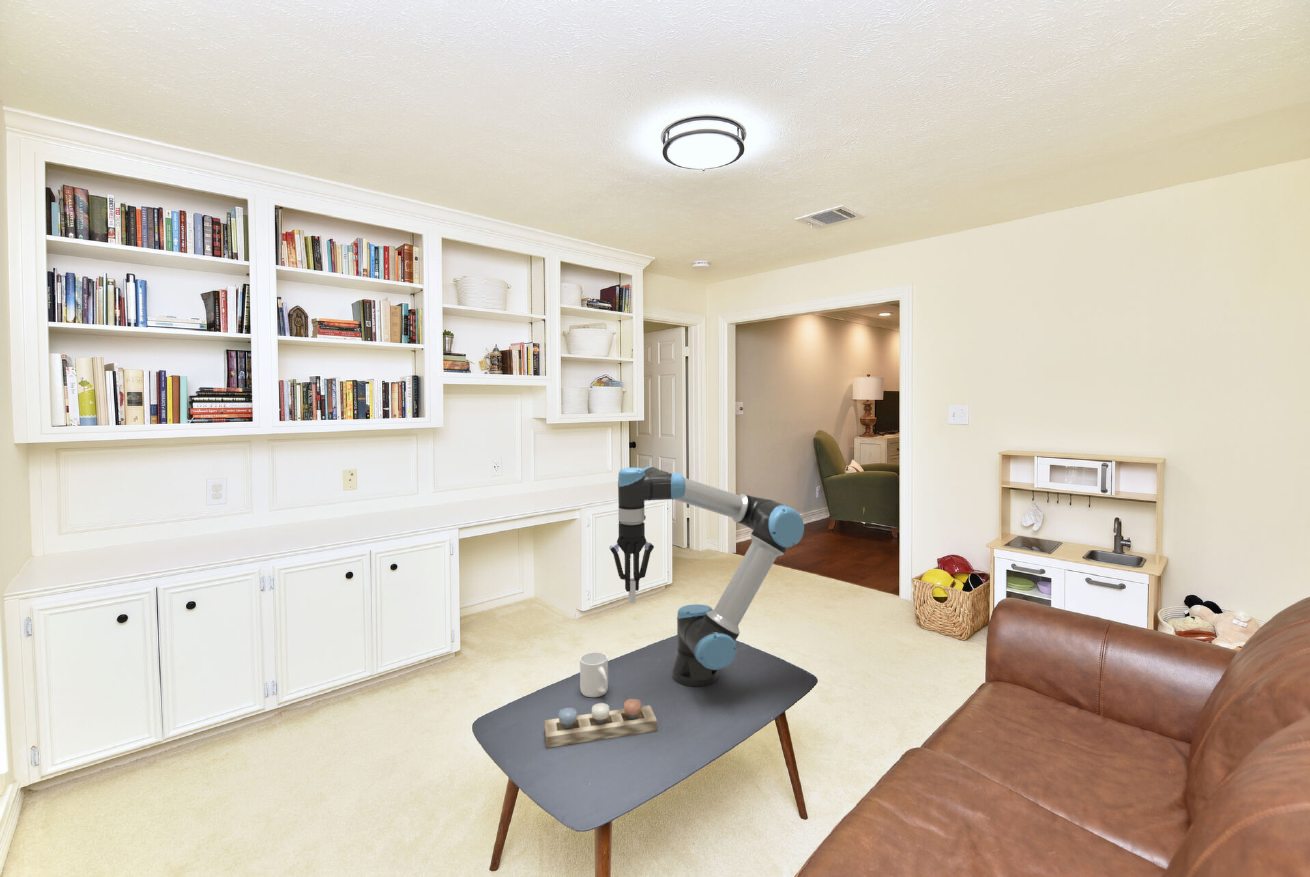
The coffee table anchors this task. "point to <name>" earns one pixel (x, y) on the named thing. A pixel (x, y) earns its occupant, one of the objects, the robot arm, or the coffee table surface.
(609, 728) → the three-ball wooden rack
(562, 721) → the slate ball
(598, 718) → the cream rounded piece
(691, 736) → the coffee table surface
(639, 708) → the terracotta ball
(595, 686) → the mug
